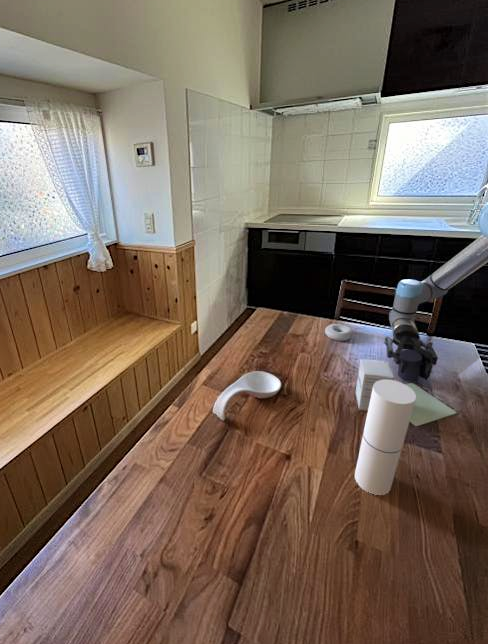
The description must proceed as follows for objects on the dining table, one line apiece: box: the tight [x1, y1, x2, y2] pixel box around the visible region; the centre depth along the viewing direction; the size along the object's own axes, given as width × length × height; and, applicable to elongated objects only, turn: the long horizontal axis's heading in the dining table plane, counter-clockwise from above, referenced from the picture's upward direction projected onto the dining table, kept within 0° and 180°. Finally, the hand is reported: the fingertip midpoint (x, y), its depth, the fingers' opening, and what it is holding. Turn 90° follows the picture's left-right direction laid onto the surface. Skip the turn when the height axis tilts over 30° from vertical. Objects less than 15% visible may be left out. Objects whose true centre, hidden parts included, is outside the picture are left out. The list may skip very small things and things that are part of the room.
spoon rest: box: [212, 370, 282, 422], centre depth 100 cm, size 24×12×7 cm, turn 127°
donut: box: [324, 323, 354, 342], centre depth 131 cm, size 10×4×10 cm
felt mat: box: [404, 382, 458, 428], centre depth 96 cm, size 14×14×1 cm
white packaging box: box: [355, 358, 395, 412], centre depth 94 cm, size 7×7×13 cm
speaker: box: [397, 345, 433, 383], centre depth 103 cm, size 8×6×10 cm
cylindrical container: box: [354, 379, 416, 497], centre depth 70 cm, size 7×7×25 cm
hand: (415, 371), depth 98 cm, fingers closed on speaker, 6 cm apart
